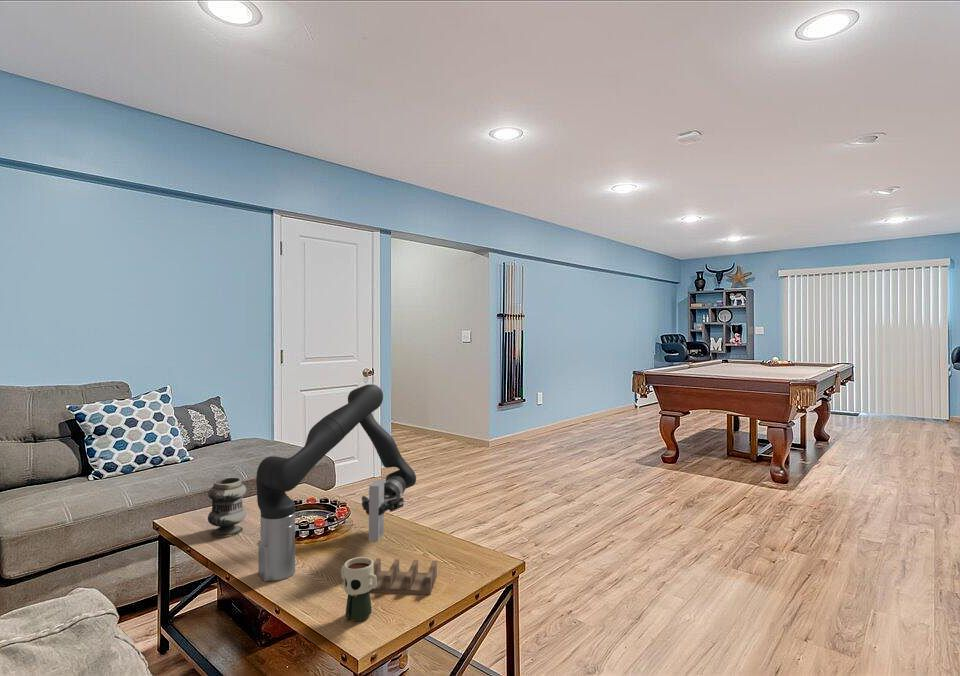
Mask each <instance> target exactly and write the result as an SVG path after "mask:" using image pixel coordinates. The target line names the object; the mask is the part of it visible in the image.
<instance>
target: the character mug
mask: <svg viewBox="0 0 960 676" xmlns="http://www.w3.org/2000/svg"><path fill="white" fill-rule="evenodd" d="M373 563H374V560H373V559H371V558H370V557H366V556H358V557H353V558H351V559H347V560H346V561H345V562H344V564H343V565H342V566H341V569H340V570H341V573H340V575H341V579H342V580H343V583H342V585H343V591H345V593H346V594H347V598H346V606H345V616H344V617H345V618H346V620H349V616H350V621H352V622H353V621H354V622H355V621H357V622H358V621H362V620H365V619H366V618H368V617H370V615H371V614H372V611H373V609H372V601H371V594H370V593H371V592H369V591H370V590H371V589H372V588H373V589H375V588H376V586H377V577H376V575H374V564H373Z"/></svg>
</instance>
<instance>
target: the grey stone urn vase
mask: <svg viewBox="0 0 960 676" xmlns="http://www.w3.org/2000/svg"><path fill="white" fill-rule="evenodd" d="M207 493H208V494H207V495H208V498H209V499H211V504H212V505H211V511H210V512H209V513H208V515H207V522H208V523H209V524H210V525H212V526H214V527H216V528H215V529H213V530H212V531H211V533H210V535H211V536H212V535H213V536H212V537H214V536H216V537H215V538H228V537H227V536H230V537H233V536H235V535H239V534H241V533H242V532H243V531H244V528H243V527H242V526H239V525H237V524H240V523H242V521H244V520H245V518H246V517H247V513H248V512H247V510H246V508H244V507H243V506H244V505H243V496H244V495H245V494H246V493H247V487H246V485H244V484H243V483H242V478H240V477H239V476H226V477H221V478H217V479H216V480H214V482H213V486H212V487H211V488H210V489H209V490H208V492H207ZM240 532H241V533H240ZM238 533H239V534H238ZM234 534H235V535H234ZM232 535H233V536H232Z"/></svg>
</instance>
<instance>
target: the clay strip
mask: <svg viewBox="0 0 960 676" xmlns="http://www.w3.org/2000/svg"><path fill="white" fill-rule="evenodd" d="M384 482H385V480H378V479H375V480H374V481H373V482H372V483H371V484H369V485H368V486H369V487H368V498H369V515H368V541H369V542H380V539H381V538H382V537H383V535H384V533H385V531H384V530H385V512H384V513H383V514H382V515H379V507H380V506H381V505H382V504H383V502H384Z"/></svg>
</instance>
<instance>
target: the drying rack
mask: <svg viewBox="0 0 960 676" xmlns="http://www.w3.org/2000/svg"><path fill="white" fill-rule="evenodd" d="M381 561H382V560H381V558H376V559H375V560H374V561H373V564H374V575H376V577H377V586H376V588H375V589H373V588H372V589H371V590H370V591H369V593H389V594H392V593H393V594H409V595H410V594H413V595H416V594H417V595H430V594H432V592H433V589H434V585H435V584H436V583H435V582H436V579H437V577H438V576H437V575H438V573H437V572H438V567H437V566H438V564H437V563H438V561H437V560H432V562H431V563H430V566H429V569H428V570H427V571H428V572H419V560H418V559H413V560H412V563H411V565H410V567H409V569H408V571H400V559H398V558H397V559H396V558H395V559H394V561H393V562H392V564H391V566H390V568H389V570H381V569H382V567H381V564H382V563H381Z"/></svg>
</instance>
